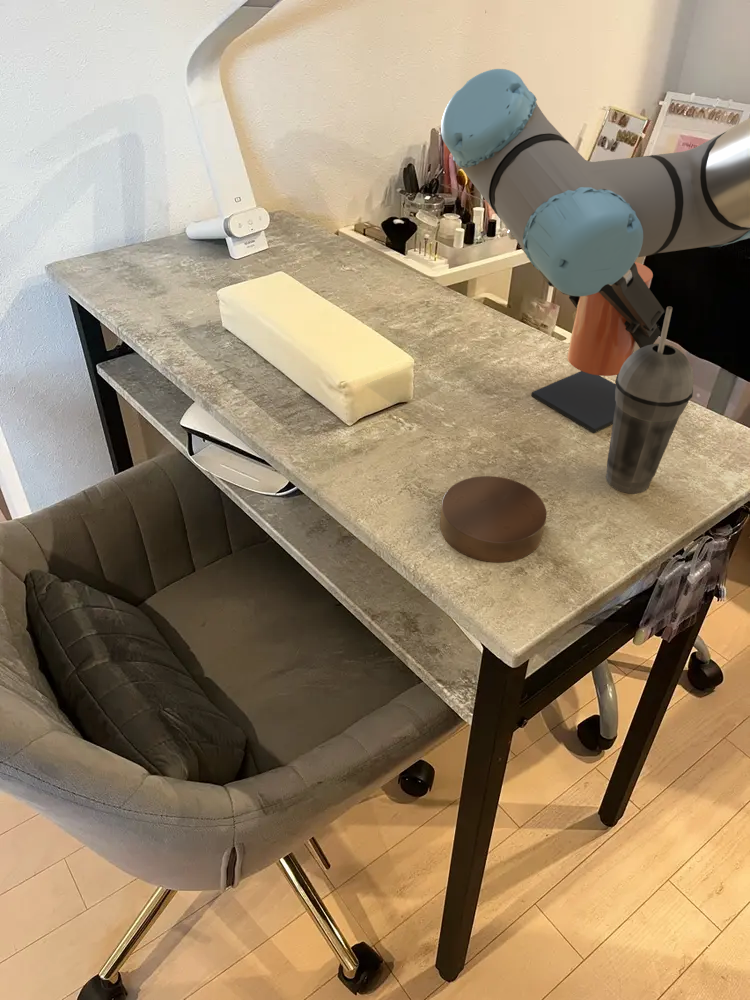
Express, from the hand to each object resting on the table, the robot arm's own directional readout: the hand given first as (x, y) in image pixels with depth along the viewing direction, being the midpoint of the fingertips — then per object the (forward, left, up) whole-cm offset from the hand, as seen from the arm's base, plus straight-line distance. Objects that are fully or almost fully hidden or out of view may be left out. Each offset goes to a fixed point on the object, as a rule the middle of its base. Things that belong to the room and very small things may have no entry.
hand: (623, 328), depth 90 cm
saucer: (-10, +29, -9) cm, 32 cm away
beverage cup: (-13, +12, -9) cm, 20 cm away
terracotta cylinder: (0, +3, -3) cm, 5 cm away
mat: (0, +3, -9) cm, 9 cm away
